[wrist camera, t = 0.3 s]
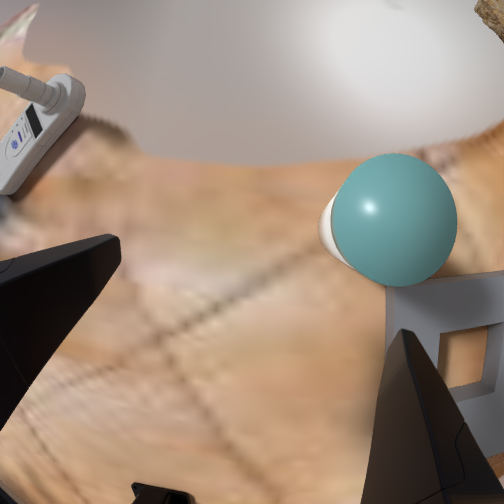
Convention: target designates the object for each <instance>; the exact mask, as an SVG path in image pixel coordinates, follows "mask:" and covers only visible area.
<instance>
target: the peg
mask: <svg viewBox="0 0 504 504" xmlns="http://www.w3.org/2000/svg"><path fill="white" fill-rule="evenodd" d="M456 233H457V213H456V207H455V203H454V199H453V197H452V194H451V192H450V190H449V188H448V186H447V184H446V183H445V182H444V180H443V179H442V177H441V176H440V175H439V174H438V173H437V172H436V171H435V170H434V169H433V168H432V167H431V166H429V165H428V164H426V163H425V162H423V161H421V160H419V159H417V158H415V157H412V156H409V155H404V154H384V155H379V156H376V157H374V158H371V159H369V160H367V161H365V162H364V163H362V164H361V165H360V166H358V167H357V168H356V169H355V170H354V171H353V172H352V173H351V174H350V176H349V177H348V178H347V180H346V181H345V182H344V184H343V185H342V186H341V188H340V189H339V190H338V192H337V193H336V195H335V196H334V197H333V199H332V200H331V201H330V203H329V204H328V205H327V207H326V208H325V209H324V211H323V212H322V214H321V216H320V219H319V223H318V235H319V239H320V241H321V244H322V245H323V247H324V248H325V250H326V251H327V252H328V253H329V254H330V255H332V256H333V257H335V258H337V259H338V260H340V261H342V262H343V263H345V264H346V265H348V266H350V267H351V268H353V269H355V270H356V271H358V272H359V273H361V274H363V275H364V276H366V277H368V278H369V279H371V280H373V281H375V282H377V283H380V284H383V285H387V286H394V287H404V286H410V285H414V284H417V283H420V282H422V281H424V280H426V279H427V278H429V277H430V276H432V275H433V274H434V273H436V272H437V271H438V270H439V269H440V268H441V266H442V265H443V264H444V263H445V261H446V260H447V258H448V257H449V255H450V253H451V251H452V248H453V245H454V242H455V238H456Z"/></svg>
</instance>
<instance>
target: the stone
mask: <svg viewBox="0 0 504 504" xmlns="http://www.w3.org/2000/svg"><path fill="white" fill-rule="evenodd" d="M474 10H475V12H476V13H477V14H478V15H479V16H480V17H481V18H482V19H483V22H484V23H485V24H486V25H487V26H488V27H489V28H490V29H492V30H493V31H494V32H495V33H496V34H497V35H498V36H499V38H500V39H501V40H502V41H503V43H504V0H478V3H477V5H476V6H475V8H474Z"/></svg>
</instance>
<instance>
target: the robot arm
mask: <svg viewBox="0 0 504 504" xmlns="http://www.w3.org/2000/svg"><path fill="white" fill-rule="evenodd" d="M120 263H121V247H120V239H119V238H118V237H117V236H115V235H112V234H104V235H100V236H95V237H91V238H87V239H83V240H79V241H75V242H71V243H67V244H63V245H60V246H56V247H52V248H48V249H44V250H41V251H37V252H33V253H30V254H26V255H22V256H19V257H17V258H11V259H8V260H4V261H0V431H1V430H2V428H3V427H4V425H5V424H6V422H7V420H8V419H9V417H10V416H11V414H12V413H13V411H14V410H15V408H16V407H17V405H18V404H19V402H20V401H21V399H22V398H23V396H24V395H25V393H26V392H27V390H28V389H29V387H30V386H31V384H32V383H33V381H34V380H35V379H36V377H37V376H38V374H39V373H40V372H41V370H42V369H43V367H44V366H45V365H46V363H47V362H48V361H49V359H50V358H51V356H52V355H53V354H54V352H55V351H56V350H57V348H58V347H59V346H60V344H61V343H62V342H63V340H64V339H65V338H66V337H67V335H68V334H69V333H70V331H71V330H72V329H73V327H74V326H75V325H76V324H77V322H78V321H79V320H80V319H81V317H82V316H83V315H84V314H85V312H86V311H87V310H88V309H89V307H90V306H91V305H92V304H93V302H94V301H95V300H96V298H97V297H98V296H99V294H100V293H101V291H102V290H103V288H104V287H105V285H106V284H107V282H108V281H109V279H110V278H111V277H112V275H113V274H114V272H115V271H116V269H117V268H118V266H119V265H120ZM464 421H465V419H464V417H463V415H462V413H461V412H460V410H459V408H458V406H457V404H456V402H455V400H454V399H453V397H452V395H451V393H450V391H449V390H448V388H447V386H446V384H445V383H444V381H443V379H442V377H441V376H440V374H439V372H438V370H437V369H436V367H435V365H434V364H433V362H432V360H431V359H430V357H429V355H428V354H427V352H426V350H425V349H424V347H423V345H422V344H421V342H420V341H419V339H418V337H417V336H416V334H415V333H414V332H413V331H411V330H407V329H404V328H402V329H400V330H399V331H398V332H397V334H396V336H395V338H394V339H393V341H392V343H391V344H390V346H389V348H388V350H387V353H386V358H385V363H384V368H383V373H382V378H381V383H380V388H379V393H378V398H377V404H376V412H375V421H374V429H373V436H372V443H371V450H370V456H369V462H368V468H367V473H366V479H365V484H364V489H363V494H362V499H361V503H360V504H504V489H503V487H502V485H501V483H500V482H499V480H498V478H497V476H496V475H495V473H494V471H493V469H492V468H491V466H490V464H489V463H488V461H487V459H486V458H485V456H484V454H483V452H482V451H481V449H480V447H479V446H478V444H477V442H476V440H475V438H474V436H473V434H472V432H471V430H470V429H469V427H468V425H467V423H466V422H464ZM131 487H132V490H133V492H134V495H135V497H136V498H135V500H134V501H133V503H132V504H191V503H190V499H189V496H188V494H186V493H184V492H179V491H173V490H168V489H163V488H158V487H153V486H148V485H144V484H140V483H135V482H134V483H133V484H132V485H131ZM183 496H184V497H183ZM0 504H26V503H25V502H24V501H22V500H21V499H20V498H19V497H18V496H17V495H16V494H15V493H14V492H13V491H12V490H10V489H9V488H8V487H7V486H6V485H5V484H4V483H3V482H2V481H1V480H0Z"/></svg>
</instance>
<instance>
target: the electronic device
mask: <svg viewBox="0 0 504 504" xmlns="http://www.w3.org/2000/svg"><path fill="white" fill-rule="evenodd" d="M0 88H2V89H4V90H7V91H9V92H12V93H15V94H17V96H18V97H21V98H23V99H26V100H29V101H31V102H30V103H29V105H28V106H27V107H26V108H25V110H24V111H23V112H22V114H21V115H20V116H19V118H18V119H17V120H16V122H15V123H14V124H13V126H12V127H11V128H10V130H9V131H8V133H7V134H6V136H5V137H4V138H3V140H2V141H1V143H0V194H6V195H11V194H13V193H15V192H16V191H17V190H18V189H19V187H20V186H21V185H22V183H23V182H24V181H25V179H26V178H27V177H28V175H29V174H30V173H31V171H32V170H33V169H34V167H35V166H36V165H37V164H38V162H39V161H40V160H41V158H42V157H43V156H44V155H45V153H46V152H47V151H48V150H49V149H50V147H51V146H52V145H53V144H54V143H55V141H56V140H57V139H58V138H59V137H60V136H61V134H62V133H63V132H64V131H65V130H66V129H67V128H68V127H69V125H70V124H71V123H72V122H73V121H74V120H75V119H76V117H77V116H78V114H79V113H80V111H81V109H82V107H83V105H84V101H85V96H86V95H85V88H84V85H83V84H82V82H80V81H79V80H77V79H75V78H73V77H72V76H70V75H68V74H66V73H65V74H58V75H56V76H54V77H52V78H51V79H50V80H49V81H48V82H47V83H44V82H42V81H40V80H38V79H36V78H33V77H31V76H29V75H27V76H26V75H24V74H21V73H19V72H17V71H15V70H13V69H10V68H8V67H6V66H1V67H0Z"/></svg>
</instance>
